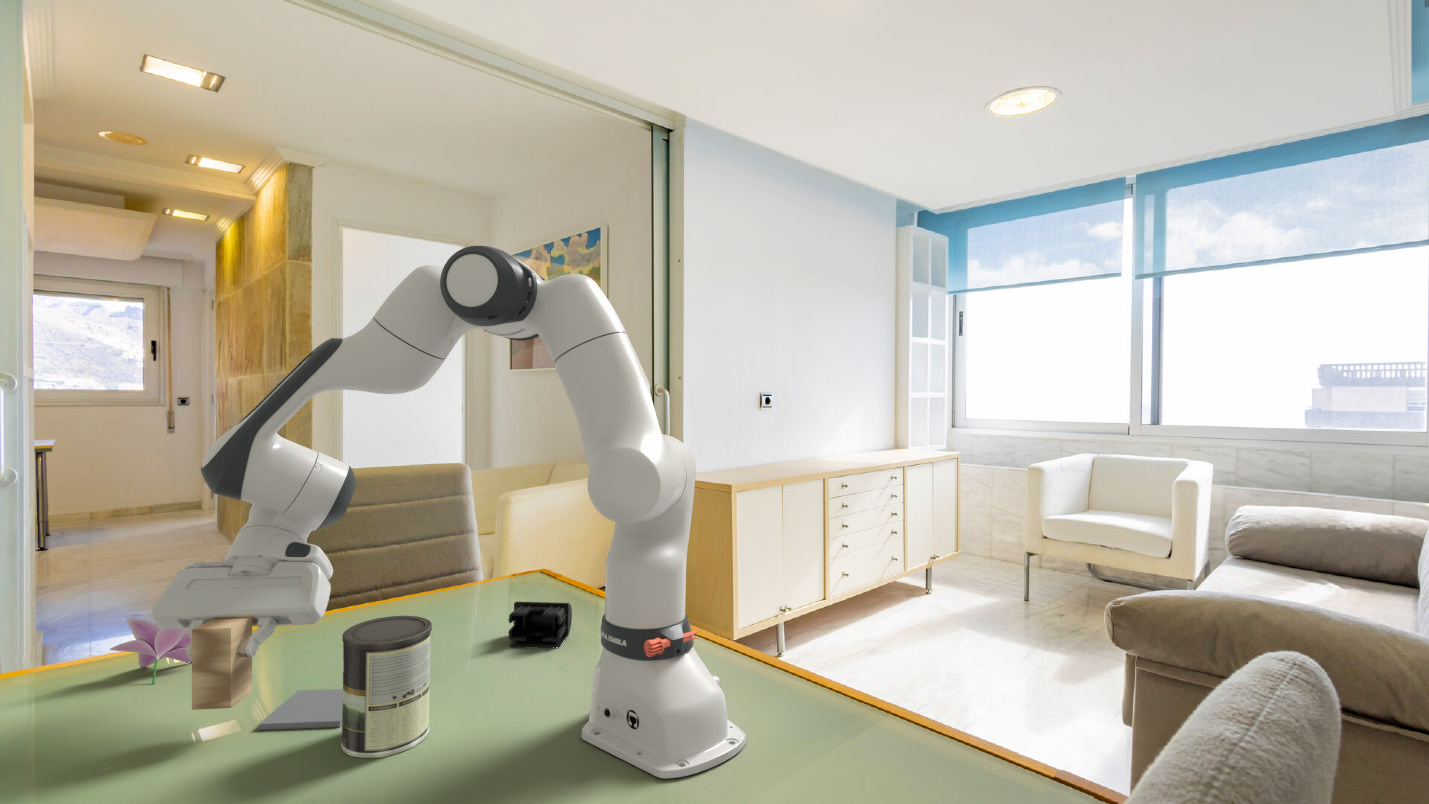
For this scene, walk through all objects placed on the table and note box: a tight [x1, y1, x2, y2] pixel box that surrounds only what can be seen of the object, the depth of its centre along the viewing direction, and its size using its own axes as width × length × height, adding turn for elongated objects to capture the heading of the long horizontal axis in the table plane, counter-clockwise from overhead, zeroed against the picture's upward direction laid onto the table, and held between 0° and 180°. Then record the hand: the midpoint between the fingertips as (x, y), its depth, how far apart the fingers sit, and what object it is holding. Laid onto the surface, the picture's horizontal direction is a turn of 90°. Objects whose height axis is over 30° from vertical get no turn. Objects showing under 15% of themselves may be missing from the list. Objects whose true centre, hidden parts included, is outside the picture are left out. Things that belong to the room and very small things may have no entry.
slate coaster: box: [258, 688, 343, 731], centre depth 91 cm, size 10×10×1 cm
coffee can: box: [340, 615, 433, 759], centre depth 84 cm, size 10×10×14 cm
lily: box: [109, 617, 192, 685], centre depth 102 cm, size 12×12×10 cm
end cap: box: [507, 601, 573, 649], centre depth 119 cm, size 10×7×7 cm
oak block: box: [191, 617, 253, 711], centre depth 84 cm, size 4×4×10 cm
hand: (219, 656), depth 83 cm, fingers closed on oak block, 4 cm apart
